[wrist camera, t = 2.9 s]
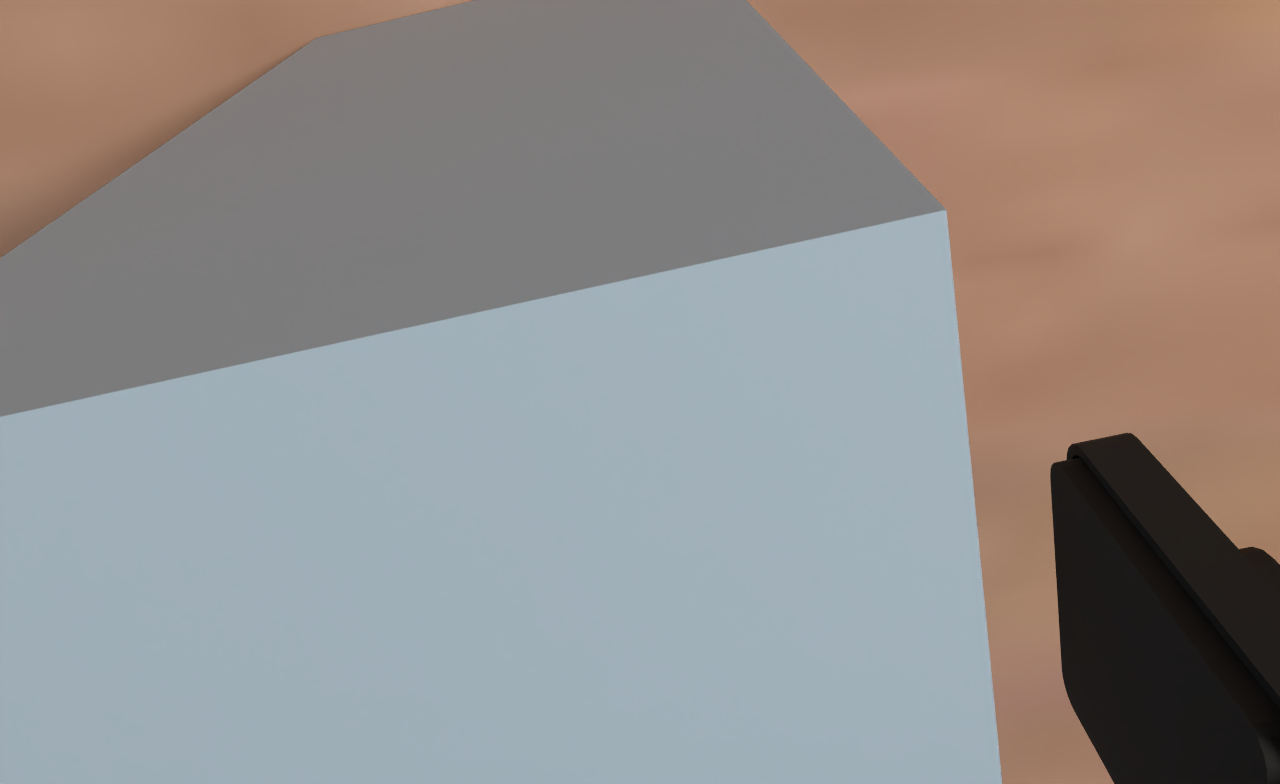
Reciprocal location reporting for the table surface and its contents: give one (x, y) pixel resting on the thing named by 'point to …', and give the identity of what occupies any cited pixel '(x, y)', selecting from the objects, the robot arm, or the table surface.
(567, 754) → the grey-blue plate
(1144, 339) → the table surface
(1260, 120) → the table surface
